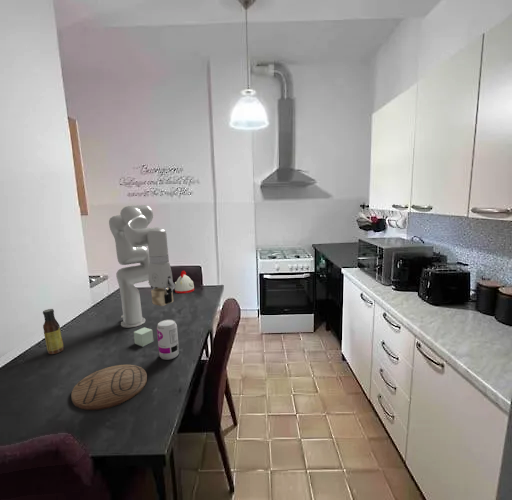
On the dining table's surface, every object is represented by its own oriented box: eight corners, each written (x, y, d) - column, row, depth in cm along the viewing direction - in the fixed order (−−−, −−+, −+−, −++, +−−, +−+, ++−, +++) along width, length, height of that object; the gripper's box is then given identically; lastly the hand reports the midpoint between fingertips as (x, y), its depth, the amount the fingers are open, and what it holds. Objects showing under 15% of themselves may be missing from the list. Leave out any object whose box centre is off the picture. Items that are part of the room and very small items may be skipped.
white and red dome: (171, 293, 222) (170, 273, 220) (179, 287, 236) (178, 268, 233) (190, 293, 220) (188, 273, 217) (197, 287, 233) (195, 268, 231)
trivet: (66, 420, 97) (65, 415, 97) (76, 378, 120) (76, 374, 120) (150, 397, 107) (149, 392, 106) (144, 363, 129) (144, 358, 129)
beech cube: (152, 304, 129) (151, 290, 128) (163, 299, 134) (162, 286, 133) (162, 306, 126) (160, 292, 125) (173, 301, 130) (172, 288, 129)
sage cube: (134, 343, 147) (133, 331, 146) (145, 338, 151) (144, 327, 150) (143, 346, 143) (141, 334, 142) (153, 341, 148) (152, 329, 147)
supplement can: (161, 362, 129) (158, 328, 126) (158, 353, 136) (154, 321, 133) (181, 357, 132) (178, 324, 130) (176, 349, 140) (173, 317, 137)
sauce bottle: (67, 349, 144) (60, 308, 140) (54, 355, 138) (47, 313, 134) (56, 347, 146) (50, 307, 142) (44, 353, 140) (36, 312, 136)
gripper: (137, 259, 128) (142, 301, 131) (166, 263, 119) (170, 307, 122) (152, 256, 134) (156, 296, 137) (180, 259, 125) (184, 302, 128)
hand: (163, 301), depth 130 cm, fingers closed on beech cube, 6 cm apart
